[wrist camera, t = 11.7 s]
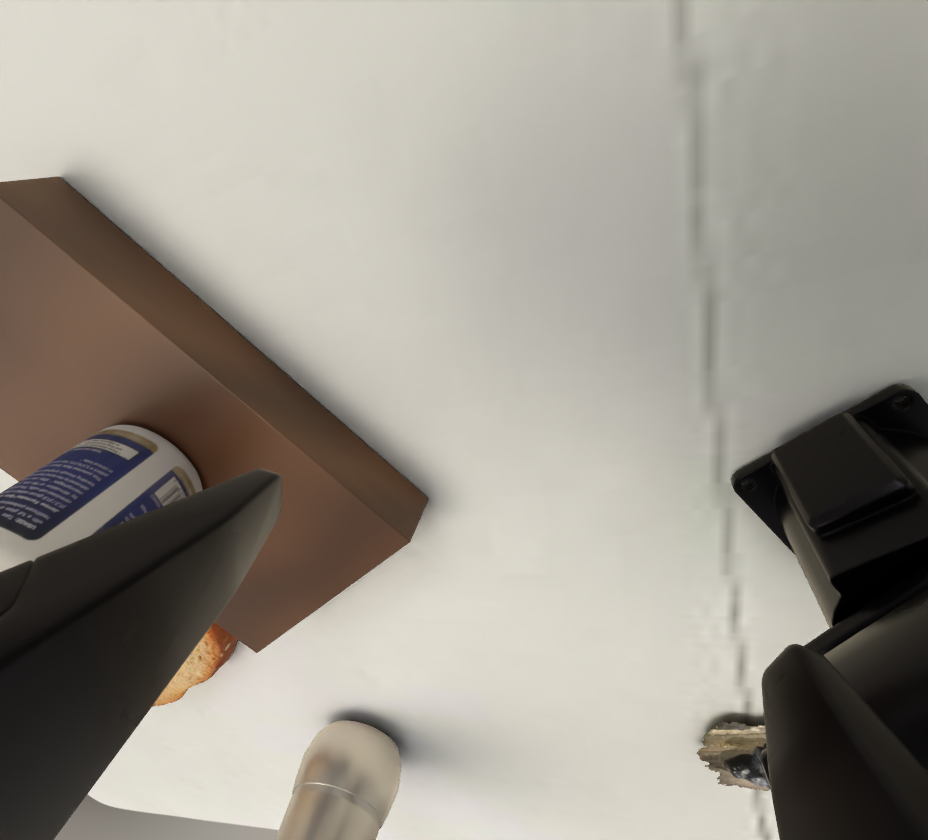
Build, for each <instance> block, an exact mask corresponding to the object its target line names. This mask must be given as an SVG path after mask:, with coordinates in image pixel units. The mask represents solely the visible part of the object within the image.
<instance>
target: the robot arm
mask: <svg viewBox="0 0 928 840" xmlns="http://www.w3.org/2000/svg"><path fill="white" fill-rule="evenodd" d="M902 396H906V398H905V400H904V401H903V402H901V403H899V404H894V402H895V400H896V399H898V398H899V397H902ZM747 480H749V481H752V482H751V483H750V484H747V485H741V483H742V482H743V481H747ZM731 483H732V486H733V489H734V490H735V492H736V493H737V494H738V495H739V496H740V497H741V498H742V499H743V501H744V502H745V503H746V504H747V505H748V506H749V507H750V508H751V509H752V510H753V511H754V512H755V513H756V514H757V515H758V516H759V517H760V518H761V519H762V520H763V522H764V523H765V524H766V525H767V526H768V527H769V528H770V529H771V530H772V531H773V532H774V533H775V534H776V535H777V536H778V537H779V538H780V539H781V540H782V541H783V543H784V544H785V545H786V546H787V547H788V548H789V549H790V550H791V551H792V552H793V553H794V554H795V555H796V557H797V559H798V561H799V563H800V565H801V567H802V570H803V572H804V574H805V576H806V578H807V580H808V582H809V585H810V587H811V589H812V591H813V593H814V595H815V597H816V600H817V602H818V604H819V606H820V608H821V610H822V612H823V614H824V617H825V619H826V621H827V623H828V625H829V627H830V629H828V630H827V631H825V632H824V633H822V634H821V635H820V636H818V637H817V638H815V639H814V640H812V641H811V642H809V643H808V644H806V645H805V646H801V645H798V644H792V645H789V646H788V647H786V648H785V650H784V651H783V652H782V653H781V654H780V655H779V656H778V657H777V658H776V659H775V660H774V661H773V662H772V663H771V664H770V666H769V667H768V668H767V669H766V670H765V672H764V674H763V678H762V695H763V708H764V721H765V734H766V747H767V748H766V749H764V750H762V752H761V761H762V767H763V770H764V772H765V775H766V778H767V781H768V783H769V786H770V789H771V792H772V799H773V804H774V810H775V815H776V821H777V827H778V832H779V838H780V840H928V404H927V403H926V402H925V401H924V399H923V398H922V397H921V396H920V394H919V393H917V392H916V391H915V390H914V389H913V388H911V387H910V386H908V385H904V384H900V385H894V386H892V387H889V388H887V389H885V390H883V391H882V392H880V393H878V394H876V395H874V396H873V397H871V398H869V399H867V400H865V401H864V402H862V403H860V404H858V405H856V406H855V407H853V408H851V409H849V410H847V411H846V412H844V413H842V414H838V415H836V416H834V417H832V418H831V419H829V420H827V421H825V422H823V423H822V424H820V425H818V426H816V427H814V428H813V429H811V430H809V431H807V432H805V433H804V434H802V435H800V436H798V437H796V438H795V439H793V440H791V441H789V442H787V443H786V444H784V445H782V446H780V447H778V448H777V449H775V450H774V451H773V452H771V453H770V454H768V455H766V456H764V457H762V458H761V459H759V460H757V461H755V462H753V463H752V464H750V465H748V466H746V467H744V468H743V469H741V470H739V471H737V472H736V473H735V474H733V476H732V478H731ZM281 502H282V477H281V476H280V475H279V474H278V473H275V472H271V471H268V470H265V469H262V468H258V469H254V470H252V471H249V472H247V473H244V474H242V475H239V476H237V477H234V478H232V479H229V480H227V481H225V482H222V483H220V484H217V485H215V486H212V487H210V488H207V489H205V490H202V491H200V492H197V493H195V494H192V495H190V496H187V497H185V498H182V499H180V500H178V501H175V502H173V503H170V504H168V505H165V506H163V507H160V508H158V509H155V510H153V511H150V512H148V513H145V514H143V515H140V516H138V517H136V518H133V519H131V520H128V521H126V522H123V523H121V524H118V525H116V526H113V527H111V528H108V529H106V530H103V531H101V532H98V533H96V534H93V535H91V536H89V537H86V538H84V539H81V540H79V541H76V542H74V543H71V544H69V545H66V546H64V547H61V548H59V549H56V550H54V551H51V552H49V553H46V554H44V555H42V556H39V557H37V558H36V559H35V560H34V561H32V560H29V561H26V562H24V563H21V564H19V565H16V566H14V567H11V568H9V569H6V570H4V571H2V572H0V840H54V838H55V837H56V836H57V834H58V833H59V832H60V830H61V829H62V828H63V826H64V825H65V823H66V822H67V821H68V819H69V818H70V817H71V815H72V814H73V813H74V811H75V810H76V809H77V807H78V806H79V804H80V803H81V802H82V800H83V799H84V798H85V796H86V795H87V794H88V792H89V791H90V790H91V788H92V787H93V786H94V784H95V783H96V781H97V780H98V779H99V777H100V776H101V775H102V773H103V772H104V771H105V769H106V768H107V767H108V765H109V764H110V762H111V761H112V760H113V758H114V757H115V756H116V754H117V753H118V752H119V750H120V749H121V748H122V746H123V745H124V744H125V742H126V741H127V739H128V738H129V737H130V735H131V734H132V733H133V731H134V730H135V729H136V727H137V726H138V725H139V723H140V722H141V720H142V719H143V718H144V716H145V715H146V714H147V712H148V711H149V710H150V708H151V707H152V706H153V704H154V703H155V702H156V700H157V699H158V697H159V696H160V695H161V693H162V692H163V691H164V689H165V688H166V687H167V685H168V684H169V683H170V681H171V680H172V678H173V677H174V676H175V674H176V673H177V672H178V670H179V669H180V668H181V666H182V665H183V664H184V662H185V661H186V660H187V658H188V657H189V655H190V654H191V653H192V651H193V650H194V649H195V647H196V646H197V645H198V643H199V642H200V641H201V639H202V638H203V636H204V635H205V634H206V632H207V631H208V630H209V628H210V627H211V626H212V624H213V623H214V622H215V620H216V619H217V618H218V616H219V615H220V613H221V612H222V611H223V609H224V608H225V607H226V605H227V604H228V602H229V601H230V600H231V598H232V597H233V595H234V594H235V592H236V591H237V589H238V587H239V586H240V584H241V582H242V581H243V579H244V577H245V576H246V574H247V572H248V570H249V569H250V567H251V565H252V563H253V562H254V560H255V558H256V557H257V555H258V553H259V551H260V550H261V548H262V546H263V545H264V543H265V541H266V539H267V538H268V536H269V534H270V533H271V531H272V529H273V527H274V526H275V524H276V522H277V520H278V518H279V515H280V512H281Z"/></svg>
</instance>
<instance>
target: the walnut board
mask: <svg viewBox="0 0 928 840" xmlns="http://www.w3.org/2000/svg"><path fill="white" fill-rule="evenodd" d="M115 425H132V426H137V427H141V428H144V429H147V430H149V431H152V432H154V433H156V434H158V435H160V436H161V437H163V438H164V439H166V440H167V441H169V442H170V443H172V444H173V445H174V446H175V447H177V448H178V449H179V450H180V451H181V452H182V453H183V454H184V455H185V456H186V457H187V459H188V460H189V461H190V462H191V464H192V465H193V467H194V468H195V470H196V471H197V473H198V475H199V478H200V480H201V484H202V489H203V490H205V489H207V488H210V487H212V486H215V485H217V484H220V483H222V482H225V481H227V480H229V479H232V478H234V477H237V476H239V475H242V474H244V473H247V472H249V471H252V470H254V469H258V468H262V469H265V470H268V471H271V472H275V473H278V474H279V475H280V476H281V477H282V502H281V512H280V515H279V518H278V520H277V522H276V524H275V526H274V527H273V529H272V531H271V533H270V534H269V536H268V538H267V539H266V541H265V543H264V545H263V546H262V548H261V550H260V551H259V553H258V555H257V557H256V558H255V560H254V562H253V563H252V565H251V567H250V569H249V570H248V572H247V574H246V576H245V577H244V579H243V581H242V582H241V584H240V586H239V587H238V589H237V591H236V592H235V594H234V595H233V597H232V598H231V600H230V601H229V602H228V604H227V605H226V607H225V608H224V609H223V611H222V612H221V613H220V615H219V616H218V618H217V619H216V620H215V622H214V623H216V624H217V625H219V626H220V627H221V628H223V629H224V630H226V631H227V632H228V633H230V634H231V635H233V636H234V637H235V638H237V639H238V640H239V641H241V642H242V643H244V644H245V645H246V646H248V647H249V648H251V649H252V650H253V651H255V652H256V653H258V652H259V651H260V650H262V649H263V648H265V647H266V646H267V645H269V644H270V643H271V642H273V641H274V640H276V639H277V638H278V637H280V636H281V635H282V634H284V633H285V632H287V631H288V630H289V629H291V628H292V627H293V626H295V625H296V624H298V623H299V622H300V621H302V620H303V619H304V618H306V617H307V616H309V615H310V614H311V613H313V612H314V611H315V610H317V609H318V608H320V607H321V606H322V605H324V604H325V603H326V602H328V601H329V600H331V599H332V598H333V597H335V596H336V595H337V594H339V593H340V592H342V591H343V590H344V589H346V588H347V587H348V586H350V585H351V584H353V583H354V582H355V581H357V580H358V579H359V578H361V577H362V576H364V575H365V574H366V573H368V572H369V571H370V570H372V569H373V568H375V567H376V566H377V565H379V564H380V563H382V562H383V561H384V560H386V559H387V558H388V557H390V556H391V555H393V554H394V553H395V552H397V551H398V550H399V549H401V548H402V547H404V546H405V545H406V544H408V543H409V542H410V541H411V538H412V536H413V534H414V532H415V529H416V527H417V525H418V522H419V520H420V518H421V516H422V513H423V511H424V509H425V507H426V504H427V502H428V500H429V499H428V497H426V496H425V495H424V494H423V493H422V492H421V491H420V490H418V489H417V488H416V487H415V486H414V485H413V484H411V483H410V482H409V481H408V480H407V479H406V478H405V477H403V476H402V475H401V474H400V473H399V472H398V471H397V470H395V469H394V468H393V467H392V466H391V465H390V464H389V463H387V462H386V461H385V460H384V459H383V458H382V457H381V456H379V455H378V454H377V453H376V452H375V451H374V450H373V449H371V448H370V447H369V446H368V445H367V444H366V443H364V442H363V441H362V440H361V439H360V438H359V437H358V436H356V435H355V434H354V433H353V432H352V431H351V430H350V429H348V428H347V427H346V426H345V425H344V424H343V423H342V422H340V421H339V420H338V419H337V418H336V417H335V416H334V415H332V414H331V413H330V412H329V411H328V410H327V409H326V408H324V407H323V406H322V405H321V404H320V403H319V402H317V401H316V400H315V399H314V398H313V397H312V396H311V395H309V394H308V393H307V392H306V391H305V390H304V389H303V388H301V387H300V386H299V385H298V384H297V383H296V382H295V381H293V380H292V379H291V378H290V377H289V376H288V375H287V374H285V373H284V372H283V371H282V370H281V369H280V368H279V367H277V366H276V365H275V364H274V363H273V362H272V361H270V360H269V359H268V358H267V357H266V356H265V355H264V354H262V353H261V352H260V351H259V350H258V349H257V348H256V347H254V346H253V345H252V344H251V343H250V342H249V341H248V340H246V339H245V338H244V337H243V336H242V335H241V334H240V333H238V332H237V331H236V330H235V329H234V328H233V327H232V326H230V325H229V324H228V323H227V322H226V321H225V320H223V319H222V318H221V317H220V316H219V315H218V314H217V313H215V312H214V311H213V310H212V309H211V308H210V307H209V306H207V305H206V304H205V303H204V302H203V301H202V300H201V299H199V298H198V297H197V296H196V295H195V294H194V293H193V292H191V291H190V290H189V289H188V288H187V287H186V286H184V285H183V284H182V283H181V282H180V281H179V280H178V279H176V278H175V277H174V276H173V275H172V274H171V273H170V272H168V271H167V270H166V269H165V268H164V267H163V266H162V265H160V264H159V263H158V262H157V261H156V260H155V259H154V258H152V257H151V256H150V255H149V254H148V253H147V252H146V251H144V250H143V249H142V248H141V247H140V246H139V245H137V244H136V243H135V242H134V241H133V240H132V239H131V238H129V237H128V236H127V235H126V234H125V233H124V232H123V231H121V230H120V229H119V228H118V227H117V226H116V225H115V224H113V223H112V222H111V221H110V220H109V219H108V218H107V217H105V216H104V215H103V214H102V213H101V212H100V211H99V210H97V209H96V208H95V207H94V206H93V205H92V204H90V203H89V202H88V201H87V200H86V199H85V198H84V197H82V196H81V195H80V194H79V193H78V192H77V191H76V190H74V189H73V188H72V187H71V186H70V185H69V184H68V183H66V182H65V181H64V180H63V179H62V178H61V177H49V178H39V179H29V180H19V181H8V182H0V468H1V469H2V470H4V471H5V472H6V473H8V474H9V475H11V476H12V477H13V478H15V479H16V480H18V481H19V482H20V481H21V480H23V479H25V478H26V477H28V476H29V475H31V474H32V473H34V472H35V471H37V470H39V469H40V468H42V467H43V466H45V465H47V464H48V463H50V462H51V461H53V460H54V459H56V458H57V457H59V456H61V455H62V454H64V453H65V452H67V451H69V450H70V449H72V448H73V447H75V446H76V445H78V444H80V443H81V442H83V441H84V440H86V439H88V438H89V437H91V436H92V435H94V434H96V433H98V432H100V431H101V430H103V429H105V428H108V427H111V426H115Z"/></svg>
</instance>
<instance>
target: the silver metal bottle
mask: <svg viewBox="0 0 928 840" xmlns="http://www.w3.org/2000/svg"><path fill="white" fill-rule="evenodd" d="M401 768H402V764H401V759H400V755H399V750H398V748H397V746H396V744H395V743H394V742H393V740H391V739H390V738H389V737H388V736H387V735H386V734H384V733H383V732H381V731H379V730H378V729H376V728H374V727H371V726H369V725H366V724H363V723H360V722H355V721H347V720H346V721H336V722H333V723H331V724H330V725H328V726H327V727H325V728H324V729H322V730H321V731H320V732H319V733H318V734H317V735H316V737H315V738H314V740H313V741H312V743H311V744H310V746H309V747H308V749H307V750H306V752H305V754H304V756H303V759H302V762H301V765H300V768H299V771H298V774H297V777H296V780H295V784H294V788H293V796H292V798H291V800H290V803H289V805H288V808H287V810H286V813H285V816H284V818H283V821H282V824H281V826H280V829H279V832H278V834H277V837H276V839H275V840H376V837H377V834H378V831H379V829H380V828H381V827H382V825H383V823H384V821H385V819H386V817H387V816H388V813H389V811H390V809H391V806H392V804H393V802H394V799H395V797H396V795H397V792H398V788H399V781H400V775H401Z"/></svg>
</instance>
